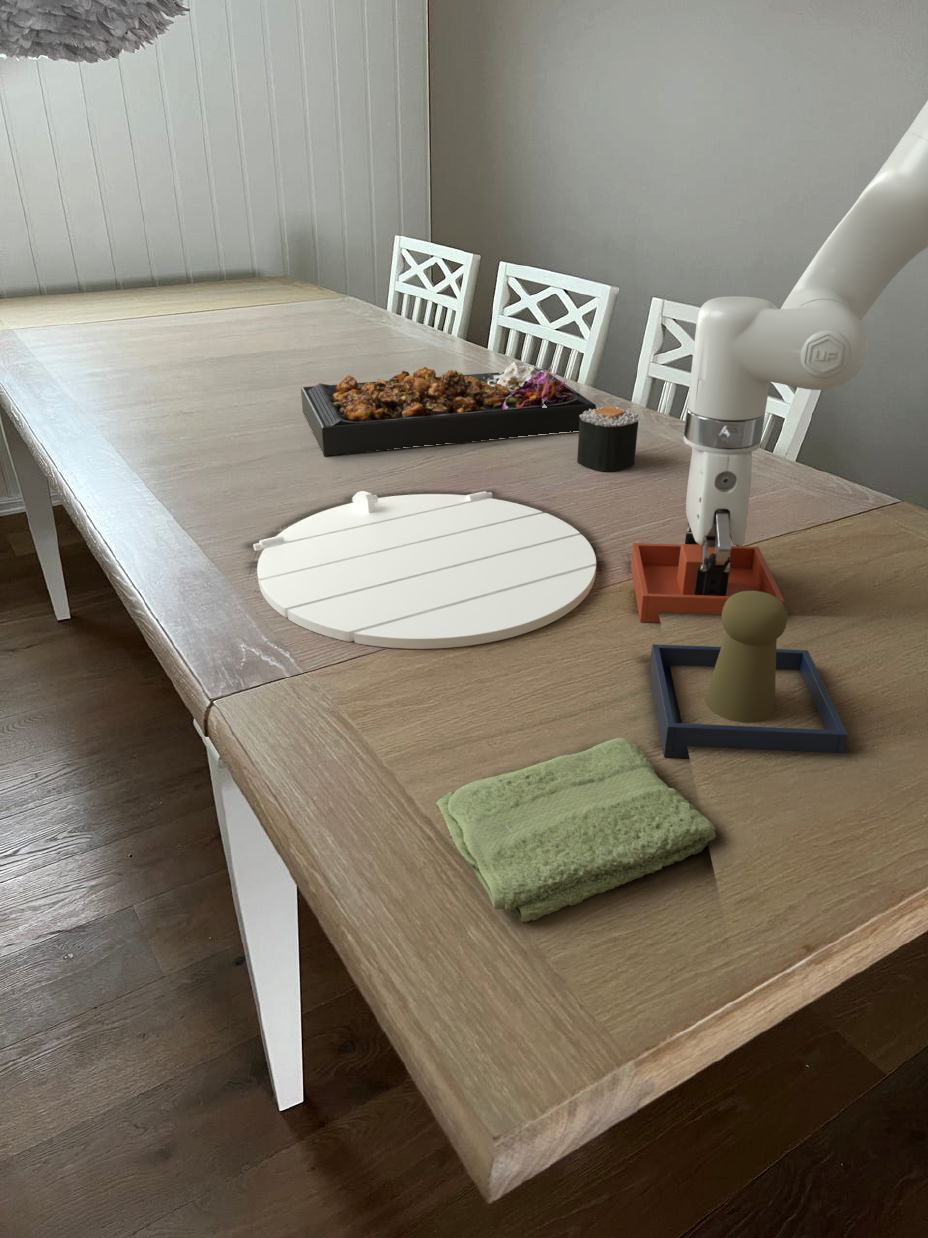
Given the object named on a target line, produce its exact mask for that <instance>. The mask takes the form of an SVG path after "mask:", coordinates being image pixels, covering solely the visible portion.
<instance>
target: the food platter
mask: <svg viewBox="0 0 928 1238" xmlns="http://www.w3.org/2000/svg"><path fill="white" fill-rule="evenodd" d="M551 369H552V365H551V366H549V368H548V369H547V370H545V369H544V368H536V366H535V364H533V365H525V364H524V363H523V361H517V360H514V361H513V362H512V363H511V364H509V366H507V367H506V368H505V369H504V371H499V372H487V373H473V374H471V373H470V374H463V372H461V371H459V372H458V370H453V369H449V370H448V371H447V372H444V373H442V374H441V375H440V376H437V372H436V371H435V369H434V368H428V367H426V366H423V367H421V368H418V369H417V370H415V371H414V372H413V373H412V375H410V373H409V371H406V370H402V372H400V373H398V374H395V375H394V376H393V377H391V378H389V380H384V379H381V378H377V379H376V381H366V382H365V381H364V382H358V381H357V379H356V378H355V377H354V376H351V375H345V376H344V377H343V378H342V379H341V380H340V381H338V383H337V384H326V383H318V384H316V385H315V386H314V385H313V386H312V385H311V386H302V387H300V397H301V407H302V414H303V413H304V414H303V416H304V415H305V416H304V418H305V417H306V418H305V420H306V419H307V420H306V422H307V421H308V422H307V424H308V423H309V424H308V426H309V425H310V426H309V428H310V427H311V428H310V430H311V429H312V430H311V432H312V431H313V432H312V434H313V433H314V434H313V436H314V435H315V437H314V438H316V439H315V440H317V441H316V443H317V442H318V443H317V445H318V444H319V445H318V447H319V446H320V447H319V449H320V448H321V449H320V451H321V450H322V451H321V453H322V452H323V453H322V455H323V457H329V456H328V455H333V456H339V455H338V454H344V455H351V454H350V453H355V454H361V453H360V452H365V453H368V452H367V451H376V450H387V449H394V448H403V447H413V446H424V445H436V444H445V443H461V444H466V443H465V442H472V441H481V440H489V439H499V438H509V437H518V436H528V435H538V434H549V433H559V432H570V431H571V432H573V431H579V423H580V416H579V415H581V414H583V412H584V411H589V409H591V410H593V409H594V410H595V409H597V404H595V402H593V401H591V400H590V399H588V398H587V397H585V396H584V395H583V394H581V393H580V392H578V391H576V390H575V389H573V388H572V387H570V386H569V385H567V384H566V383H567V381H566V380H565V381H561V380H560V379H558V378H557V377H556V375H557V373H558V371H559V369H557V370H556V371H555V373H554V375H552V374H551V373H550V371H551ZM544 404H545V405H546V406H547V408H542V406H543V405H544ZM472 443H473V442H472ZM387 451H388V450H387ZM376 452H377V451H376ZM347 453H348V454H347Z"/></svg>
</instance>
